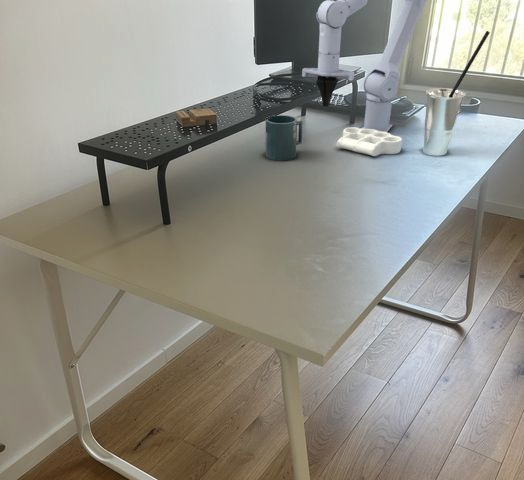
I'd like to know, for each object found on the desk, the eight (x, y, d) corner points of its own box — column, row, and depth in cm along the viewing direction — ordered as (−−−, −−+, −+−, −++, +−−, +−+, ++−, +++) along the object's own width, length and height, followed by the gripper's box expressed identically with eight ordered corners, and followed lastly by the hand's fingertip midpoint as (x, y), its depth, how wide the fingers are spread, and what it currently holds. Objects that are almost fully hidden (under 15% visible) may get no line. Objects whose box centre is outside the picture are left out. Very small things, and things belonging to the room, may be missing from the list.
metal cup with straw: (463, 159, 149) (490, 31, 131) (420, 158, 149) (442, 31, 131) (452, 146, 158) (477, 24, 139) (413, 146, 158) (432, 24, 139)
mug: (278, 162, 147) (278, 125, 142) (259, 154, 153) (259, 118, 147) (310, 154, 153) (312, 118, 147) (291, 146, 158) (292, 111, 152)
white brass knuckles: (326, 147, 157) (354, 135, 166) (382, 161, 148) (409, 147, 157) (327, 135, 155) (355, 123, 164) (384, 148, 146) (410, 135, 155)
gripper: (299, 53, 150) (297, 106, 159) (351, 57, 146) (346, 111, 154) (307, 49, 155) (305, 100, 164) (358, 52, 151) (353, 105, 159)
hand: (326, 105), depth 159 cm, fingers closed
